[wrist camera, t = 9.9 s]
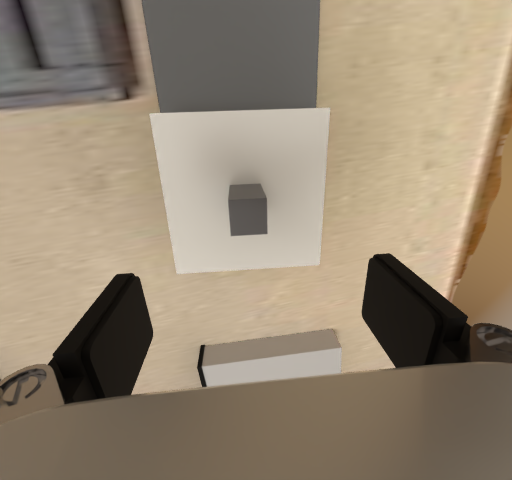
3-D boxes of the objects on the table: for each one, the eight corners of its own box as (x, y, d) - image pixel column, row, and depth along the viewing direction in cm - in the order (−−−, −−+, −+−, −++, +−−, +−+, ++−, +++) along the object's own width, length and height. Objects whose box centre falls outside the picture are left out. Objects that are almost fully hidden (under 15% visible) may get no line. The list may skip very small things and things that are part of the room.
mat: (126, -100, 24) (124, -104, 23) (322, -101, 25) (324, -106, 24) (162, 119, 31) (161, 119, 30) (314, 112, 32) (315, 112, 31)
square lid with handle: (151, 113, 23) (121, 108, 17) (328, 107, 24) (359, 100, 18) (177, 271, 30) (162, 307, 24) (318, 262, 30) (338, 295, 24)
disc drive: (200, 343, 45) (196, 368, 40) (331, 325, 45) (342, 348, 40) (217, 412, 51) (215, 439, 47) (330, 396, 52) (340, 422, 47)
